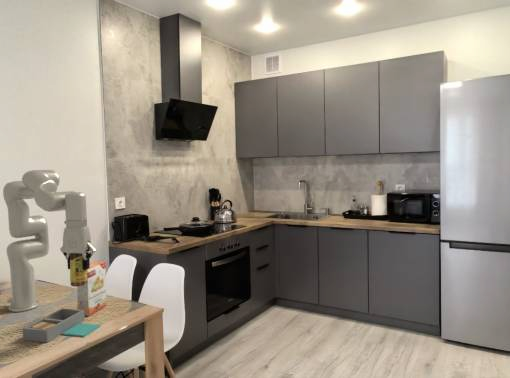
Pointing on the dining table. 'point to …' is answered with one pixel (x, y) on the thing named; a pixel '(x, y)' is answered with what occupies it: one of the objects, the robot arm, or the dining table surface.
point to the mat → (81, 330)
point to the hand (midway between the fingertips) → (78, 268)
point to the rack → (60, 318)
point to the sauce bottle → (77, 270)
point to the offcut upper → (43, 325)
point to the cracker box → (93, 289)
